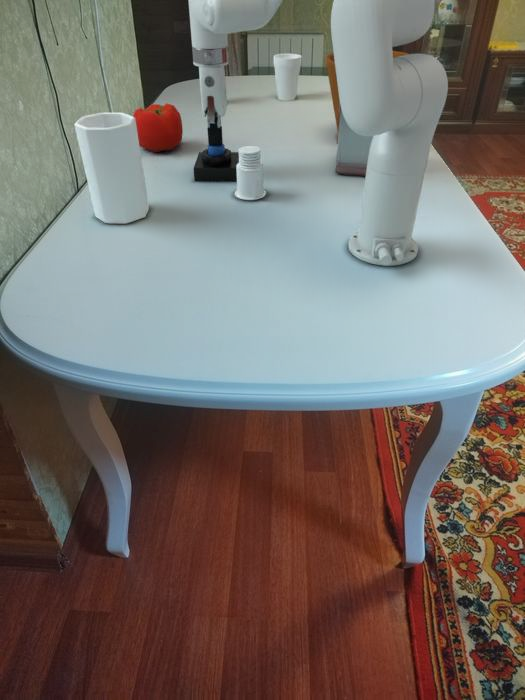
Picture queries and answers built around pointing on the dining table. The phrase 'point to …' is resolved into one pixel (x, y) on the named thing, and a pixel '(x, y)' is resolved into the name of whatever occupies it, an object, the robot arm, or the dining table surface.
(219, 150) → the button
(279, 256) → the dining table surface
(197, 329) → the dining table surface
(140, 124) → the tomato
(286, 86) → the foam cup
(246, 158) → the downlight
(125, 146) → the cup
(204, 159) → the base
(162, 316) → the dining table surface
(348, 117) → the robot arm
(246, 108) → the dining table surface
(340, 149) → the bottle
